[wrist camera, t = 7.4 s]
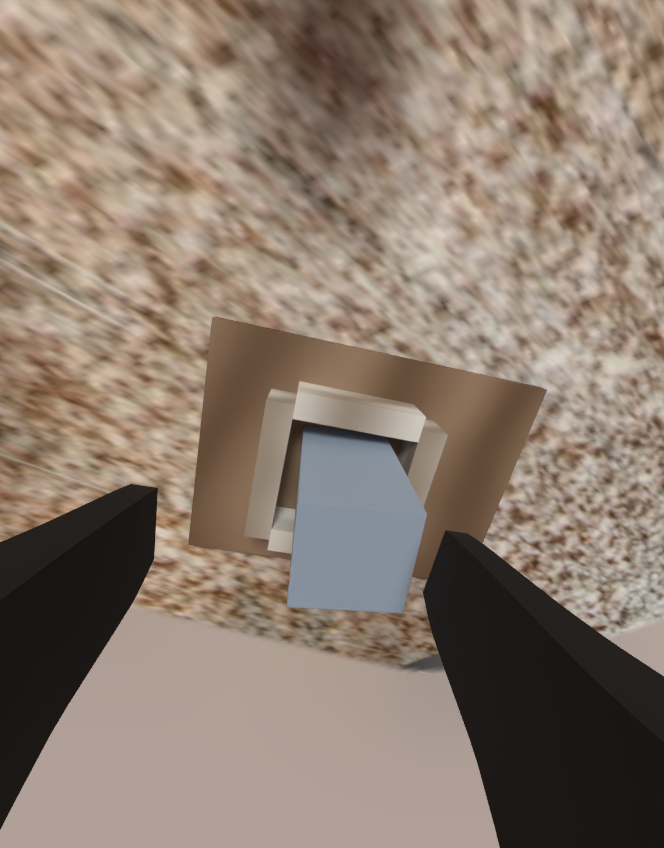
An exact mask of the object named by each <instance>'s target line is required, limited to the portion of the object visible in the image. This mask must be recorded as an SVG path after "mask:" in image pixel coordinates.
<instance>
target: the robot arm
mask: <svg viewBox="0 0 664 848" xmlns="http://www.w3.org/2000/svg"><path fill="white" fill-rule="evenodd" d="M157 492H158V488H154V487H147V486H140V485H134V484H130V485H127V486H125V487H122V488H120V489H118V490H115V491H113V492H111V493H109V494H107V495H104V496H102V497H100V498H98V499H96V500H94V501H92V502H90V503H87V504H85V505H83V506H81V507H79V508H77V509H75V510H72V511H70V512H68V513H66V514H64V515H62V516H59V517H57V518H55V519H53V520H51V521H49V522H46V523H44V524H42V525H40V526H38V527H35V528H33V529H31V530H28V531H26V532H24V533H21V534H19V535H16V536H14V537H12V538H9V539H7V540H5V541H2V542H0V829H1V827H2V825H3V823H4V821H5V819H6V817H7V815H8V813H9V811H10V809H11V808H12V806H13V804H14V802H15V800H16V798H17V796H18V794H19V792H20V791H21V789H22V787H23V785H24V783H25V781H26V779H27V777H28V776H29V774H30V772H31V770H32V768H33V766H34V764H35V762H36V760H37V759H38V757H39V755H40V753H41V751H42V749H43V747H44V745H45V744H46V742H47V740H48V738H49V736H50V734H51V732H52V731H53V729H54V727H55V726H56V724H57V722H58V721H59V719H60V717H61V716H62V714H63V712H64V710H65V709H66V707H67V705H68V704H69V702H70V701H71V699H72V698H73V696H74V695H75V693H76V691H77V690H78V688H79V687H80V685H81V684H82V682H83V680H84V679H85V677H86V676H87V674H88V673H89V671H90V669H91V668H92V666H93V665H94V663H95V662H96V660H97V658H98V657H99V655H100V654H101V652H102V650H103V649H104V647H105V646H106V644H107V643H108V641H109V639H110V638H111V636H112V635H113V633H114V631H115V630H116V628H117V627H118V625H119V624H120V622H121V620H122V619H123V617H124V615H125V614H126V612H127V611H128V609H129V608H130V606H131V604H132V603H133V601H134V599H135V597H136V595H137V593H138V591H139V589H140V587H141V585H142V583H143V581H144V579H145V577H146V575H147V573H148V571H149V568H150V566H151V564H152V562H153V560H154V550H155V530H156V511H157ZM423 594H424V599H425V604H426V609H427V614H428V618H429V622H430V626H431V630H432V634H433V637H434V640H435V643H436V646H437V649H438V652H439V654H440V657H441V660H442V663H443V666H444V669H445V671H446V674H447V677H448V680H449V683H450V685H451V688H452V691H453V694H454V697H455V699H456V702H457V705H458V708H459V710H460V713H461V716H462V719H463V721H464V724H465V727H466V730H467V733H468V736H469V738H470V741H471V745H472V748H473V751H474V754H475V757H476V760H477V763H478V766H479V770H480V774H481V778H482V781H483V785H484V789H485V792H486V796H487V800H488V804H489V807H490V811H491V815H492V818H493V822H494V825H495V830H496V833H497V838H498V842H499V846H500V848H664V676H662V675H661V674H659V673H657V672H656V671H654V670H653V669H651V668H650V667H649V666H647V665H645V664H644V663H642V662H641V661H639V660H638V659H636V658H635V657H633V656H632V655H630V654H629V653H627V652H626V651H624V650H623V649H621V648H620V647H618V646H617V645H615V644H614V643H612V642H611V641H610V640H608V639H607V638H605V637H604V636H603V635H601V634H600V633H598V632H597V631H596V630H594V629H593V628H591V627H590V626H589V625H587V624H586V623H585V622H583V621H582V620H581V619H579V618H578V617H576V616H575V615H574V614H572V613H571V612H570V611H568V610H567V609H566V608H564V607H563V606H562V605H560V604H559V603H558V602H556V601H555V600H554V599H552V598H551V597H550V596H549V595H547V594H546V593H545V592H543V591H542V590H541V589H540V588H538V587H537V586H536V585H534V584H533V583H532V582H531V581H529V580H528V579H527V578H526V577H524V576H523V575H522V574H521V573H519V572H518V571H517V570H516V569H514V568H513V567H512V566H511V565H509V564H508V563H507V562H505V561H504V560H503V559H502V558H500V557H499V556H498V555H497V554H495V553H494V552H493V551H491V550H490V549H489V548H488V547H486V546H485V545H484V544H482V543H481V542H480V541H478V540H477V539H475V538H474V537H472V536H471V535H469V534H468V533H461V532H454V531H448V530H445V532H444V535H443V538H442V541H441V544H440V546H439V549H438V552H437V555H436V558H435V560H434V563H433V566H432V569H431V572H430V574H429V577H428V580H427V583H426V585H425V588H424V591H423Z"/></svg>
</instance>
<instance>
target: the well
mask: <svg viewBox="0 0 664 848" xmlns="http://www.w3.org/2000/svg"><path fill="white" fill-rule="evenodd" d="M546 391H547V390H546V389H543V388H541V387H537V386H532V385H528V384H523V383H518V382H514V381H509V380H505V379H500V378H495V377H491V376H486V375H482V374H477V373H472V372H468V371H463V370H459V369H454V368H449V367H445V366H440V365H436V364H431V363H426V362H422V361H417V360H412V359H408V358H403V357H399V356H394V355H389V354H385V353H380V352H376V351H371V350H366V349H362V348H357V347H353V346H348V345H343V344H339V343H334V342H330V341H325V340H320V339H316V338H311V337H307V336H302V335H297V334H293V333H288V332H283V331H279V330H274V329H270V328H265V327H260V326H256V325H251V324H247V323H242V322H237V321H233V320H228V319H224V318H219V317H212V325H211V334H210V344H209V353H208V363H207V372H206V382H205V391H204V401H203V410H202V420H201V429H200V439H199V448H198V458H197V467H196V477H195V486H194V496H193V506H192V515H191V525H190V534H189V544H188V545H195V546H202V547H209V548H217V549H224V550H231V551H238V552H245V553H252V554H259V555H266V556H273V557H280V558H287V559H291V553H292V542H293V530H294V519H295V507H296V496H297V486H298V477H299V467H300V457H301V447H302V438H303V428H304V426H314V427H324V428H334V429H344V430H354V431H359V432H365V433H370V434H375V435H381V436H386V437H387V439H388V441H389V443H390V445H391V447H392V449H393V451H394V452H395V454H396V456H397V458H398V460H399V462H400V464H401V466H402V467H403V469H404V471H405V473H406V475H407V477H408V479H409V481H410V483H411V484H412V486H413V488H414V490H415V492H416V494H417V496H418V498H419V500H420V501H421V503H422V505H423V507H424V509H425V511H426V513H427V517H426V521H425V525H424V529H423V533H422V537H421V541H420V545H419V549H418V554H417V558H416V562H415V566H414V570H413V574H412V576H413V577H420V578H427V579H428V577H429V574H430V572H431V569H432V566H433V563H434V560H435V558H436V555H437V552H438V549H439V546H440V544H441V541H442V538H443V535H444V532H445V530H448V531H454V532H461V533H468V534H469V535H471V536H472V537H474V538H475V539H477V540H478V541H480V542H481V543H483V541H484V538H485V536H486V534H487V531H488V529H489V526H490V524H491V522H492V519H493V517H494V515H495V512H496V510H497V507H498V505H499V503H500V500H501V498H502V496H503V493H504V491H505V488H506V486H507V484H508V481H509V479H510V476H511V474H512V472H513V469H514V467H515V465H516V462H517V460H518V457H519V455H520V453H521V450H522V448H523V446H524V443H525V441H526V438H527V436H528V434H529V431H530V429H531V427H532V424H533V422H534V419H535V417H536V415H537V412H538V410H539V407H540V405H541V403H542V400H543V398H544V396H545V393H546Z"/></svg>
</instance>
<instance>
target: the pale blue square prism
mask: <svg viewBox="0 0 664 848" xmlns="http://www.w3.org/2000/svg"><path fill="white" fill-rule="evenodd" d="M426 517H427V513H426V511H425V509H424V507H423V505H422V503H421V501H420V500H419V498H418V496H417V494H416V492H415V490H414V488H413V486H412V484H411V483H410V481H409V479H408V477H407V475H406V473H405V471H404V469H403V467H402V466H401V464H400V462H399V460H398V458H397V456H396V454H395V452H394V451H393V449H392V447H391V445H390V443H389V441H388V439H387V437H386V436H381V435H375V434H370V433H365V432H359V431H354V430H344V429H334V428H324V427H314V426H304V428H303V438H302V447H301V457H300V467H299V477H298V486H297V496H296V507H295V519H294V530H293V542H292V553H291V565H290V576H289V587H288V599H287V607H297V608H315V609H333V610H351V611H370V612H388V613H403V611H404V607H405V603H406V599H407V595H408V591H409V587H410V582H411V578H412V574H413V570H414V566H415V562H416V558H417V554H418V549H419V545H420V541H421V537H422V533H423V529H424V525H425V521H426Z"/></svg>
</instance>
